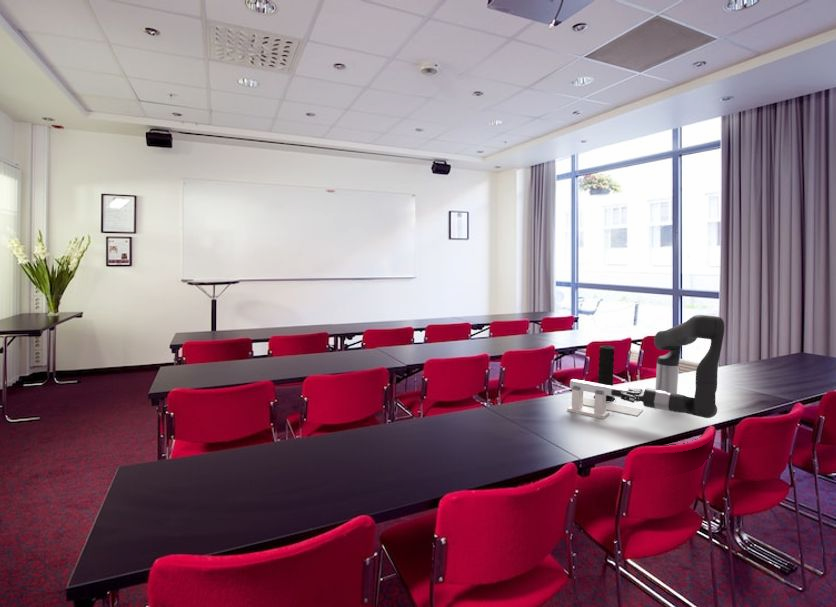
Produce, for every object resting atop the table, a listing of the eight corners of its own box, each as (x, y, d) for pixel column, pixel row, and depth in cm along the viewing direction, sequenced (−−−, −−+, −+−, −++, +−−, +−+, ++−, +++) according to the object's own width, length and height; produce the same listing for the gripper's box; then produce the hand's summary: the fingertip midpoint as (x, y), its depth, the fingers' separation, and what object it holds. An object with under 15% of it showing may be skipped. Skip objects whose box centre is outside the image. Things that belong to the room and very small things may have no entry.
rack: (573, 406, 208) (574, 383, 207) (609, 414, 198) (610, 389, 197) (567, 410, 203) (568, 386, 202) (604, 419, 193) (605, 393, 192)
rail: (569, 388, 203) (570, 380, 203) (572, 386, 206) (572, 379, 206) (626, 399, 188) (626, 390, 188) (628, 397, 191) (629, 388, 191)
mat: (581, 398, 222) (581, 397, 222) (643, 410, 204) (643, 409, 204) (573, 403, 214) (573, 402, 214) (637, 416, 196) (637, 415, 196)
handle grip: (618, 401, 216) (611, 395, 226) (621, 347, 213) (614, 343, 223) (597, 401, 217) (591, 394, 227) (599, 346, 214) (593, 342, 224)
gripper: (662, 386, 187) (618, 379, 198) (654, 394, 176) (608, 386, 187) (661, 404, 188) (617, 395, 199) (652, 413, 177) (607, 403, 188)
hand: (613, 391), depth 193 cm, fingers closed on rail, 3 cm apart
